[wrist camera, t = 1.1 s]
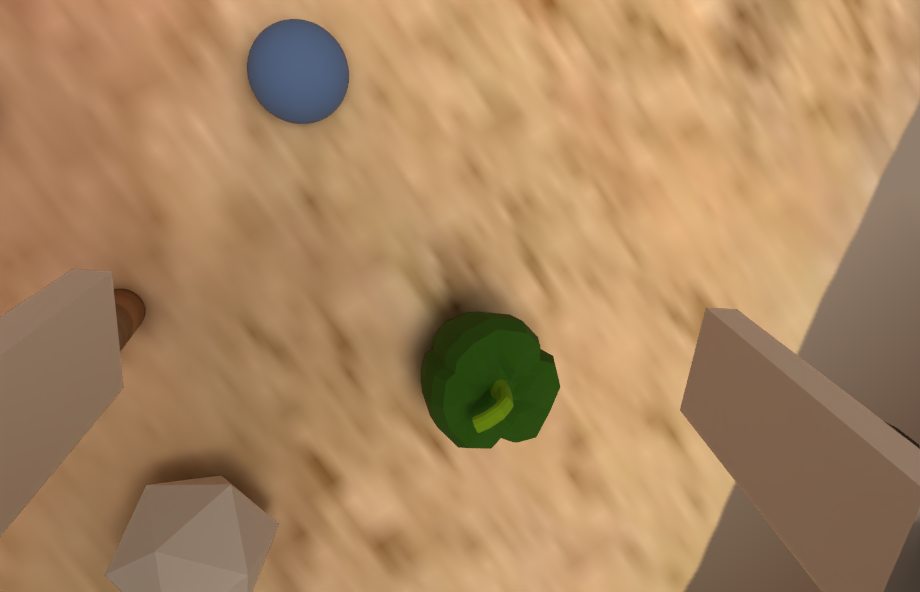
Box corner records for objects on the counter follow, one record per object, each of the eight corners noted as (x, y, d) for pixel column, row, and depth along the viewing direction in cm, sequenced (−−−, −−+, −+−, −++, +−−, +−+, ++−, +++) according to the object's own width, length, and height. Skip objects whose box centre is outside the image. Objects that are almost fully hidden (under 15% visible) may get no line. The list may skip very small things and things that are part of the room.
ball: (282, 143, 38) (286, 139, 33) (228, 58, 36) (224, 40, 31) (359, 99, 39) (375, 88, 34) (310, 13, 37) (319, -12, 32)
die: (124, 454, 39) (47, 617, 32) (239, 428, 37) (183, 597, 30) (205, 514, 45) (154, 666, 38) (311, 494, 42) (277, 652, 35)
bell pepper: (514, 291, 45) (583, 323, 36) (519, 400, 47) (586, 457, 37) (399, 306, 42) (440, 344, 33) (408, 420, 44) (450, 487, 35)
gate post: (115, 340, 37) (80, 382, 30) (86, 304, 37) (43, 339, 29) (154, 316, 38) (130, 352, 30) (126, 280, 37) (94, 308, 30)
